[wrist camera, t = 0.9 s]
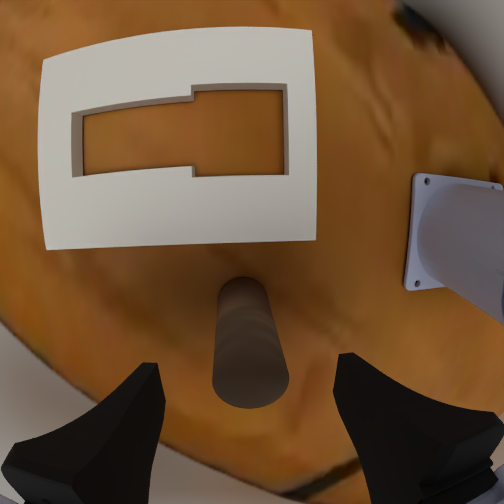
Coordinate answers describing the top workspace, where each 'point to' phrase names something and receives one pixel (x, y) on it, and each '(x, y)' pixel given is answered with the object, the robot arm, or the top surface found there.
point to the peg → (247, 347)
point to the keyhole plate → (176, 178)
